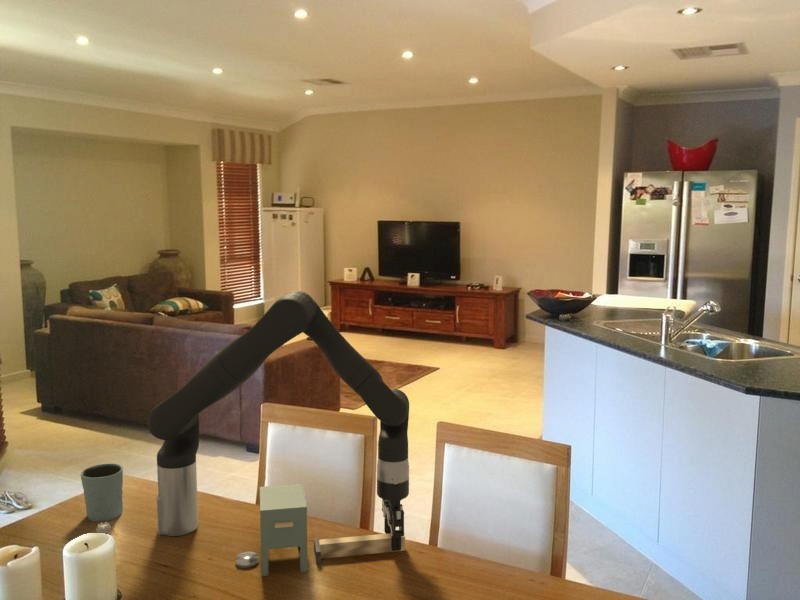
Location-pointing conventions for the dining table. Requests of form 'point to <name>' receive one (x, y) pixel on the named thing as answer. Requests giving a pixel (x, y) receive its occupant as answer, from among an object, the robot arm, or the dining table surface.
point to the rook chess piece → (103, 528)
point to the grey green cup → (103, 491)
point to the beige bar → (353, 546)
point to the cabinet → (283, 521)
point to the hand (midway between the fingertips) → (392, 541)
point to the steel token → (246, 559)
